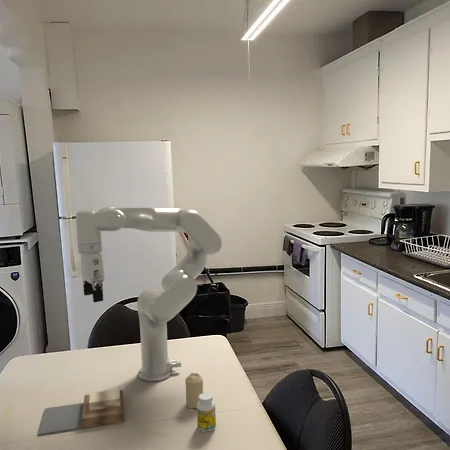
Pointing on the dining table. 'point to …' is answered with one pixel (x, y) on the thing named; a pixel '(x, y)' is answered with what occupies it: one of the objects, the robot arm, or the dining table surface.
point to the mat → (61, 419)
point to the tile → (104, 399)
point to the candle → (193, 389)
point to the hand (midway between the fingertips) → (93, 298)
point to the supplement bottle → (206, 412)
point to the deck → (102, 414)
